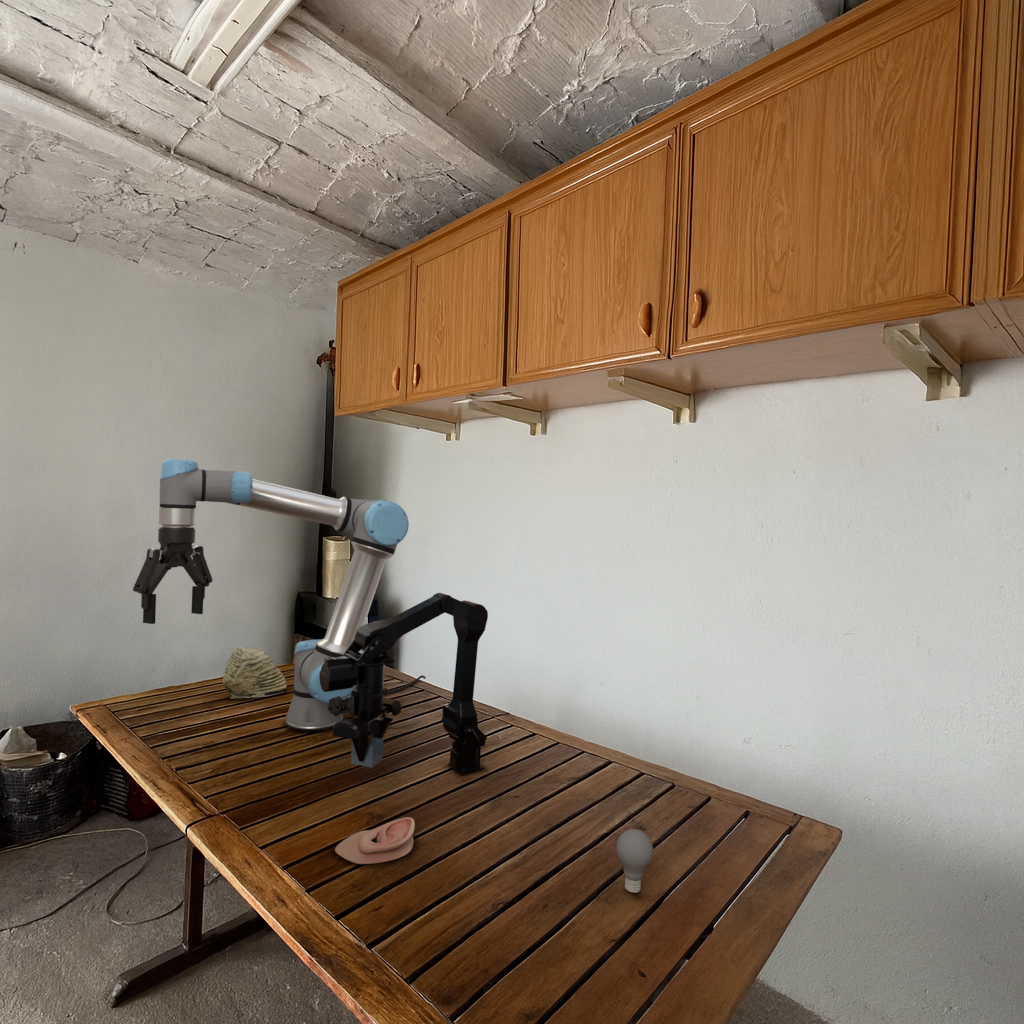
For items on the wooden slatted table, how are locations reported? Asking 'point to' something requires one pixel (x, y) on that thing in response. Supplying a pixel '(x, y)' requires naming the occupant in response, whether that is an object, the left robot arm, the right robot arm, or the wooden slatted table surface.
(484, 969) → the wooden slatted table surface
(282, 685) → the fossil
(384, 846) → the anatomical model
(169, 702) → the wooden slatted table surface
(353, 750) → the block
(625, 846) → the light bulb
